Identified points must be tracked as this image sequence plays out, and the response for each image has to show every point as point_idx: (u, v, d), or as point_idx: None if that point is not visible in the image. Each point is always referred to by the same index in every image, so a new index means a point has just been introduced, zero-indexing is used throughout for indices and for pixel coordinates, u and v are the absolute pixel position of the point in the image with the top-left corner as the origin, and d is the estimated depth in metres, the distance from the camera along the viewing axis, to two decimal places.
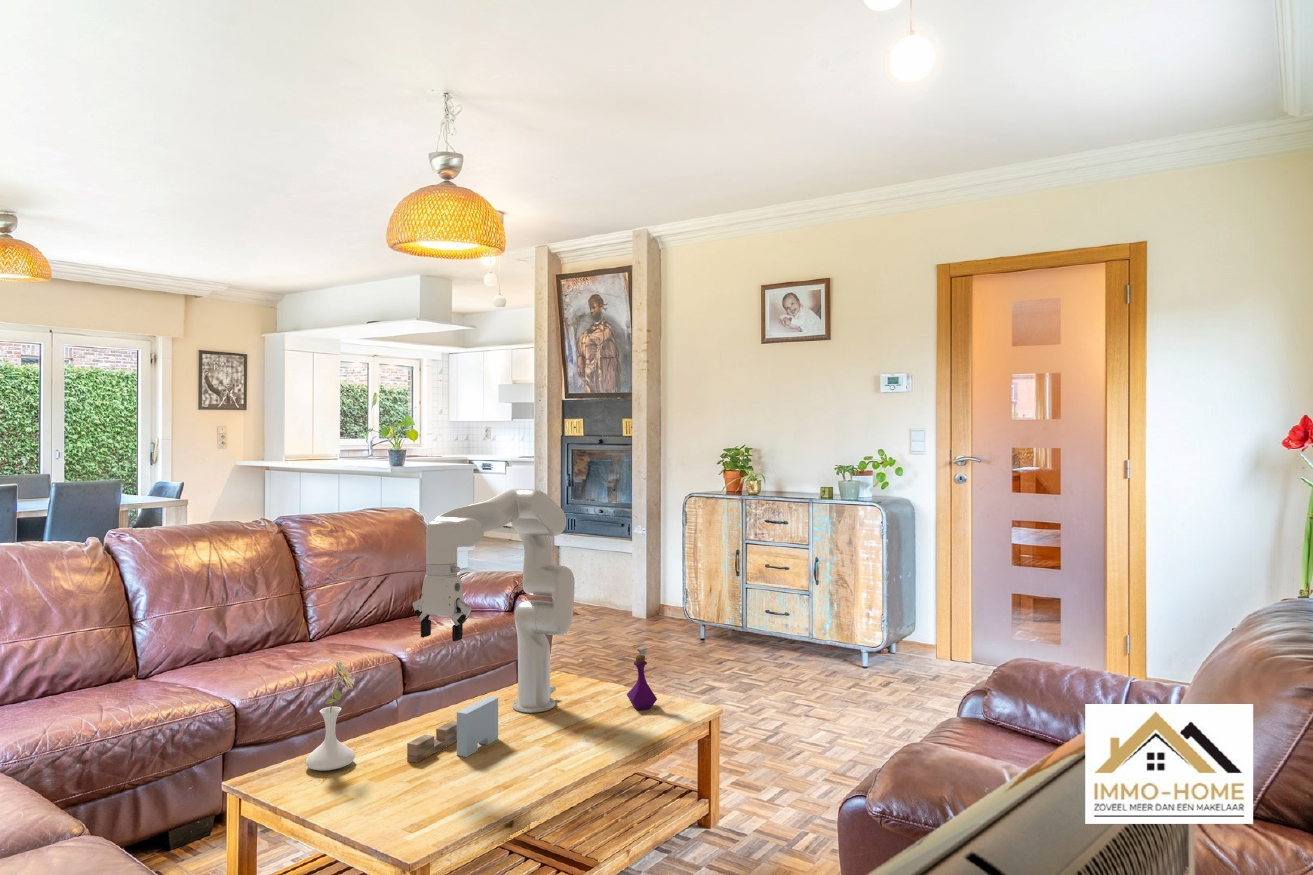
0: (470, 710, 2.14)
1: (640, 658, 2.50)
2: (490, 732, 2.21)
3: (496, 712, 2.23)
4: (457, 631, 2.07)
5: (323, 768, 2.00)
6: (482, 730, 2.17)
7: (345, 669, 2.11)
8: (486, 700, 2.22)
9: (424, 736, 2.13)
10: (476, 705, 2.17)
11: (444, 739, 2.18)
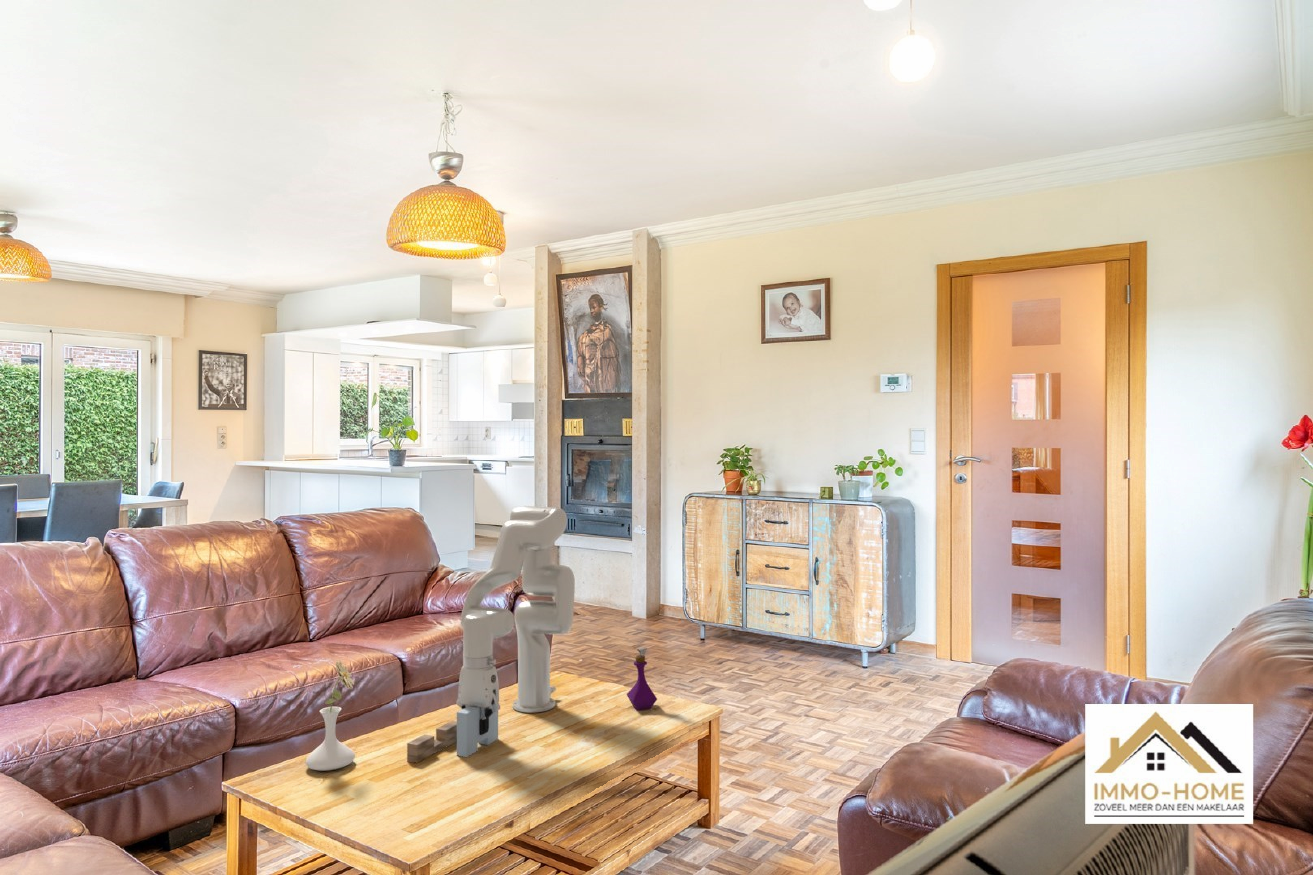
0: (470, 710, 2.14)
1: (640, 658, 2.50)
2: (490, 732, 2.21)
3: (496, 712, 2.23)
4: (484, 725, 2.16)
5: (323, 768, 2.00)
6: None
7: (345, 669, 2.11)
8: None
9: (424, 736, 2.13)
10: None
11: (444, 739, 2.18)
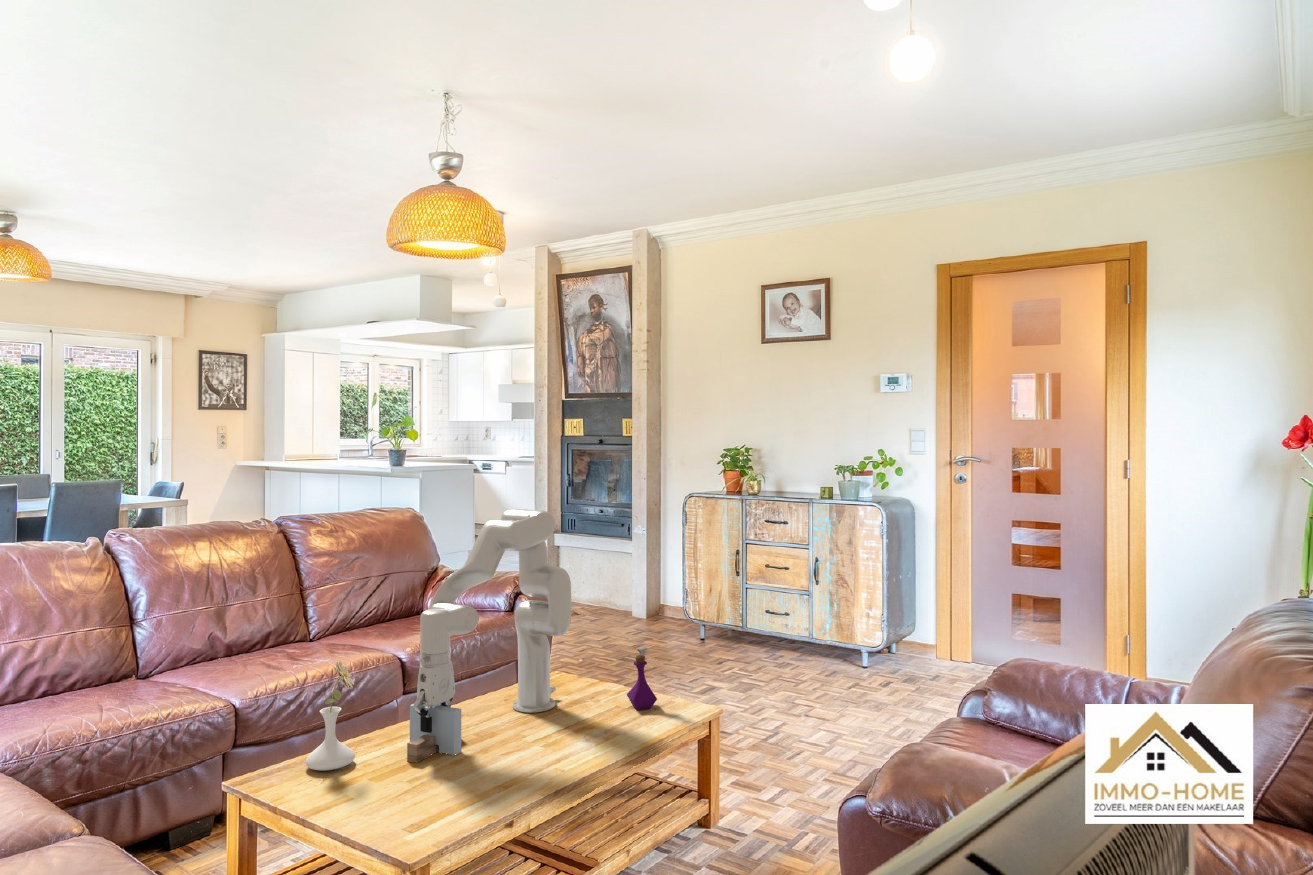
0: None
1: (640, 658, 2.50)
2: (442, 742, 2.14)
3: (451, 726, 2.12)
4: None
5: (323, 768, 2.00)
6: (431, 733, 2.15)
7: (345, 669, 2.11)
8: (447, 708, 2.15)
9: (424, 736, 2.13)
10: None
11: None
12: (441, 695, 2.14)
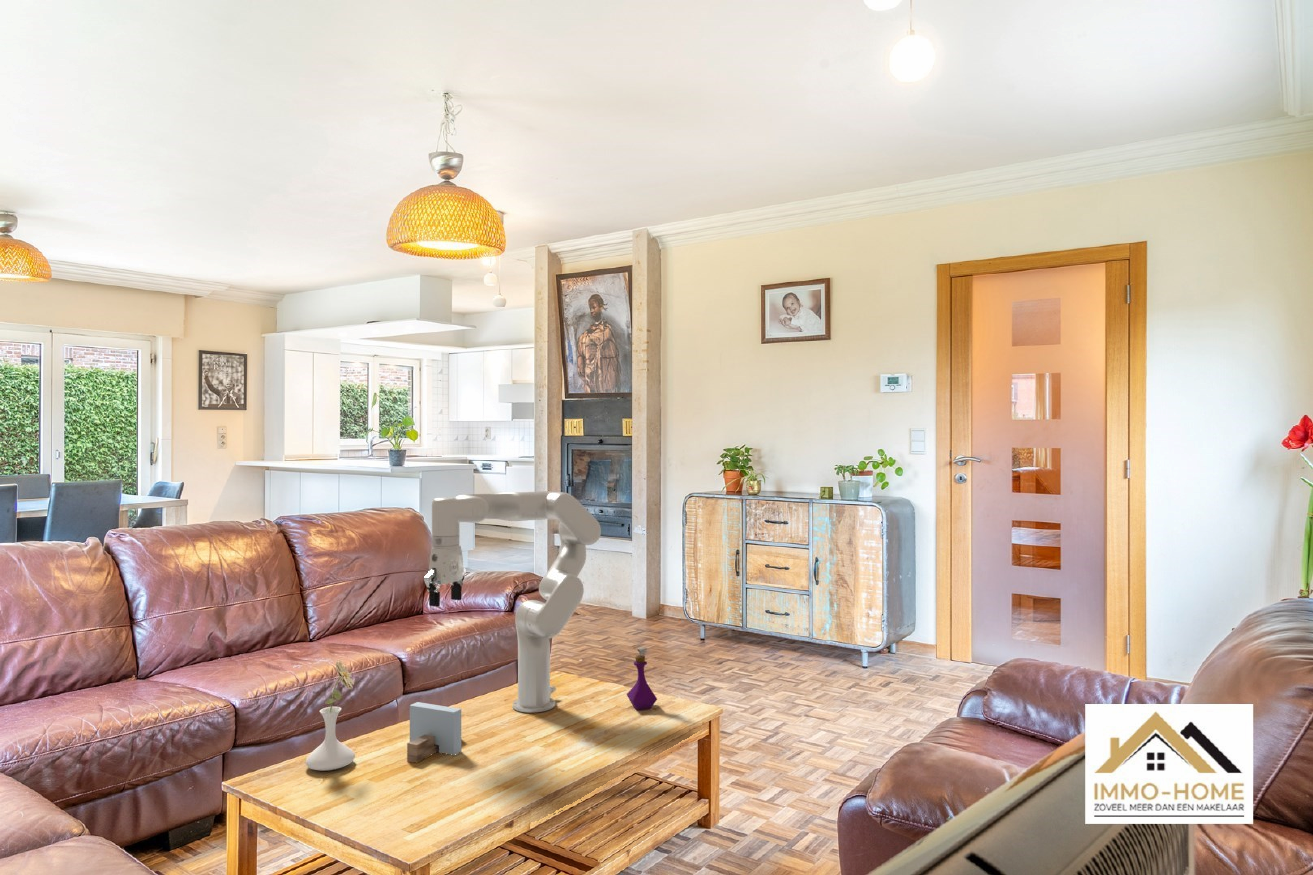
0: (419, 705, 2.17)
1: (640, 658, 2.50)
2: (442, 742, 2.13)
3: (451, 726, 2.12)
4: None
5: (323, 768, 2.00)
6: (431, 733, 2.15)
7: (345, 669, 2.11)
8: (447, 708, 2.15)
9: (424, 736, 2.13)
10: (431, 706, 2.16)
11: None
12: (451, 575, 2.32)
